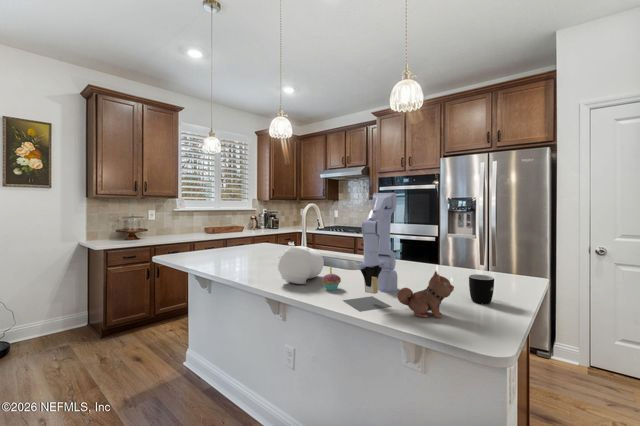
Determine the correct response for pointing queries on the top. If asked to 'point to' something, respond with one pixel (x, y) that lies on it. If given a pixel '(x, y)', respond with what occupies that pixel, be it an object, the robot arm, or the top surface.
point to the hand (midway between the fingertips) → (370, 285)
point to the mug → (481, 288)
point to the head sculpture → (300, 264)
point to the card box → (372, 286)
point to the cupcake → (331, 280)
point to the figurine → (427, 296)
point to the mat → (366, 303)
